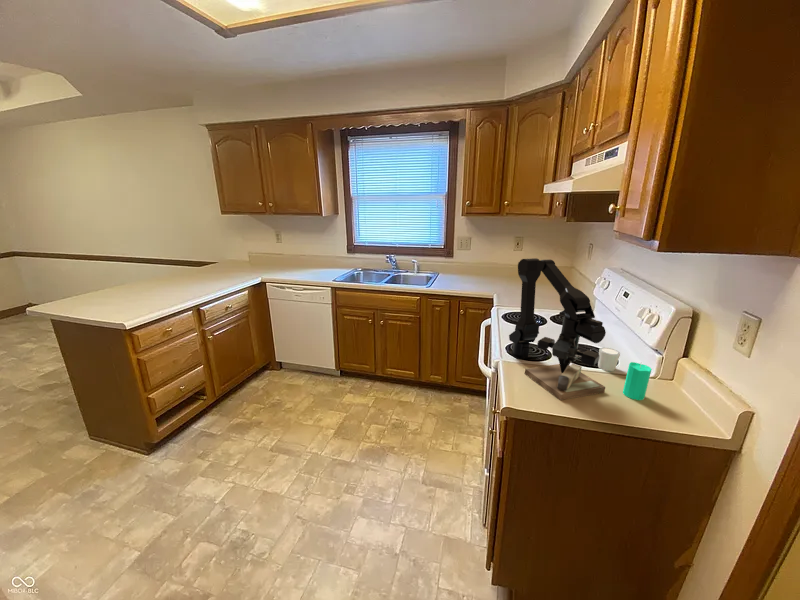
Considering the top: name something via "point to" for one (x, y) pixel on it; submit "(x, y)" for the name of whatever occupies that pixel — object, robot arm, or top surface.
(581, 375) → the stool seat
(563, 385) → the hinged leg
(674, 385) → the top surface
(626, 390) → the candle
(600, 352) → the white mug
